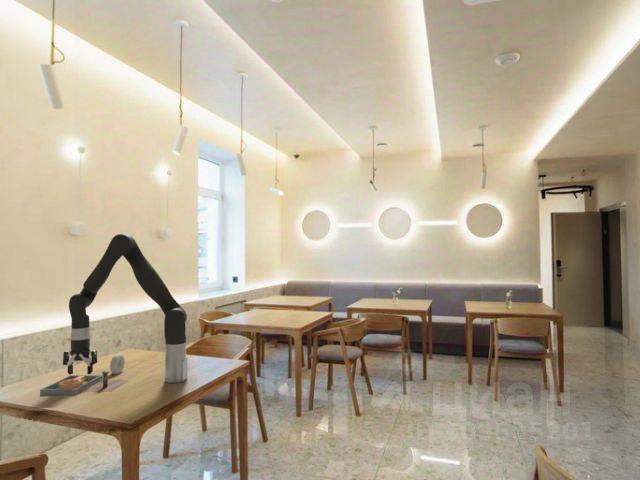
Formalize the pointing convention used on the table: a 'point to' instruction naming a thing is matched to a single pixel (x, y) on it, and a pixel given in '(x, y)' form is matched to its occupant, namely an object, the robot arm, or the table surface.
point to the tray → (54, 391)
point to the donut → (117, 364)
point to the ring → (72, 383)
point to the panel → (106, 384)
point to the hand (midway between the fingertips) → (80, 374)
